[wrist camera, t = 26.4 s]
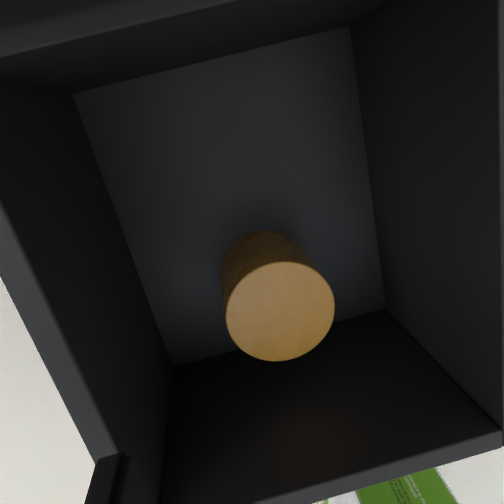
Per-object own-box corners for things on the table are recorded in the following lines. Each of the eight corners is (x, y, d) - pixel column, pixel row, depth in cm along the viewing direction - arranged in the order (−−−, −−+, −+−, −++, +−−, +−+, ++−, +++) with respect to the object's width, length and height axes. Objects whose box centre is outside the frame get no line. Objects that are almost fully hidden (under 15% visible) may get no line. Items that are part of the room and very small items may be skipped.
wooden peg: (209, 242, 19) (212, 279, 15) (298, 219, 19) (325, 248, 15) (232, 321, 21) (240, 374, 17) (314, 299, 21) (343, 345, 17)
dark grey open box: (394, 310, 23) (525, 442, 14) (164, 373, 22) (139, 555, 13) (357, 5, 17) (533, -117, 8) (52, 79, 17) (-122, 38, 8)
